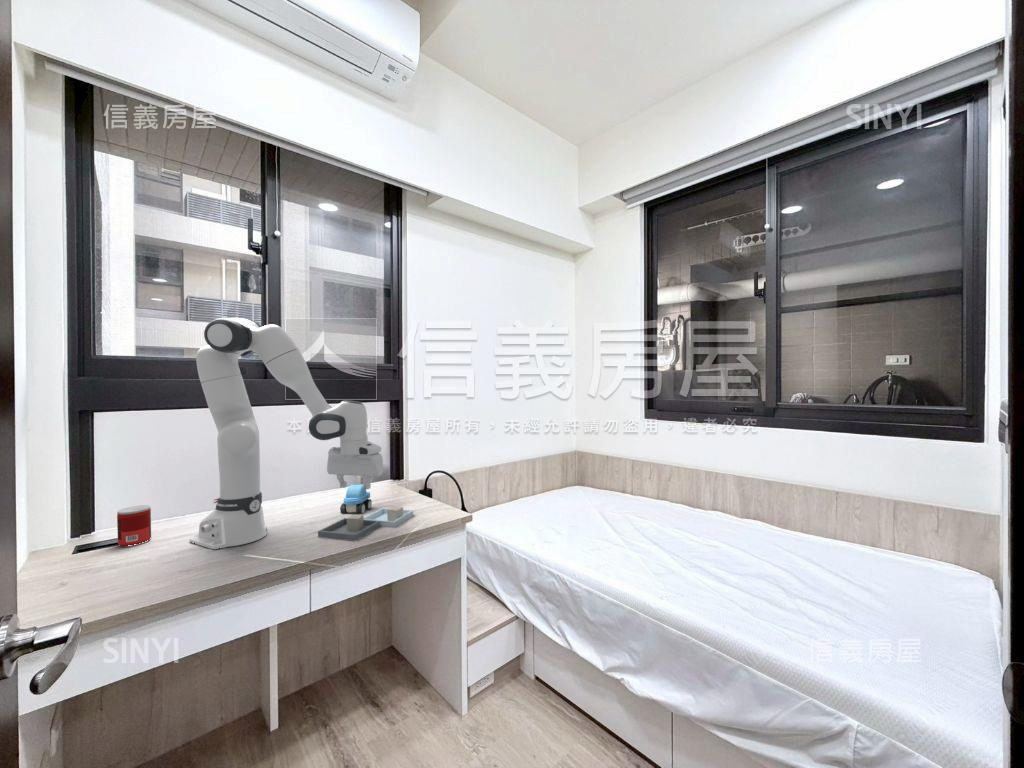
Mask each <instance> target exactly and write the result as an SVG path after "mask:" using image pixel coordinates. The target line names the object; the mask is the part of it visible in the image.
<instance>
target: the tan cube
mask: <svg viewBox="0 0 1024 768" xmlns="http://www.w3.org/2000/svg"><path fill="white" fill-rule="evenodd" d="M364 517H365V516H364V514H351V515H350V516H348V517H346V518H347V530H360V529H361V528H362V527H364Z"/></svg>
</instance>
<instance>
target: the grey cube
mask: <svg viewBox="0 0 1024 768" xmlns="http://www.w3.org/2000/svg"><path fill="white" fill-rule="evenodd" d="M403 510H404V507H403V506H391V507H390V508H389V509H388V510H387V521H395V520H397V519H398V518H400V517H402V516H403Z"/></svg>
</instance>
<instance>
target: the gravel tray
mask: <svg viewBox="0 0 1024 768" xmlns="http://www.w3.org/2000/svg"><path fill="white" fill-rule="evenodd" d="M347 518H348V517H343V518H342V519H340V520H337V521H336V522H334V523H331V524H330V525H327V526H325V527H323V528H321V529H319V530H317V537H318V538H326V539H336V540H346V541H354V542H355V541H357V540H359V539H361V538H363V537H365V536H366V535H368V534H369V533H371V532H373V531H375V530H376V529H378V528H380V527H381V526H380V521H372V520H364V527H362V528H361V529H360V530H347Z"/></svg>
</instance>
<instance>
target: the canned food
mask: <svg viewBox="0 0 1024 768" xmlns="http://www.w3.org/2000/svg"><path fill="white" fill-rule="evenodd" d="M151 507H152V506H151V505H148V504H144V505H143V504H142V505H141V504H140V505H133V506H129V507H124V508H121V509H119V510H117V515H116V519H117V521H116V522H117V524H116V525H117V544H118V546H119V545H120V546H128V545H134V544H139V543H142V542H145V541H147V540H149V539H150V538H152V518H151V517H152V515H151V514H152V511H151V510H152V508H151ZM150 540H151V539H150ZM150 540H149V541H150ZM120 546H119V547H120Z"/></svg>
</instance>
